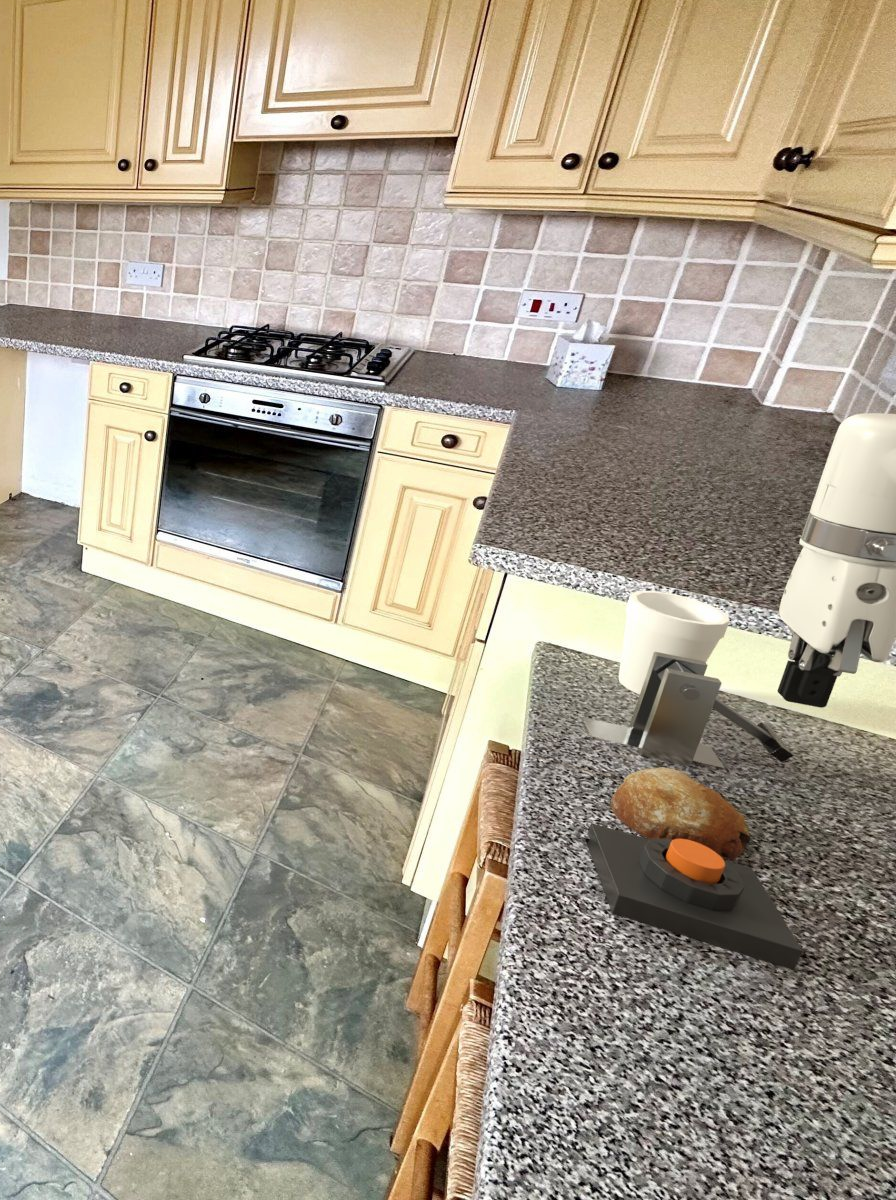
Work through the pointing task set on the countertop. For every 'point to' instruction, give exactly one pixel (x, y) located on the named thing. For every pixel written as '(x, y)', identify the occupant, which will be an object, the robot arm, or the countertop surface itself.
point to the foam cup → (666, 632)
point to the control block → (690, 898)
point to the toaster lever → (746, 724)
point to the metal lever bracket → (668, 714)
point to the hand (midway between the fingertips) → (800, 700)
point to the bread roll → (679, 811)
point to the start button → (695, 860)
